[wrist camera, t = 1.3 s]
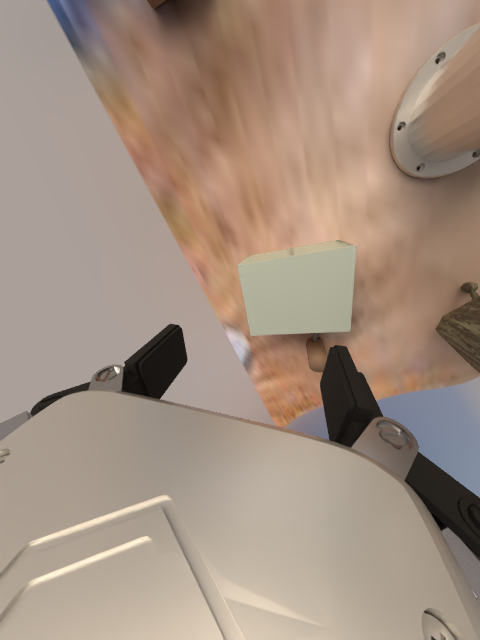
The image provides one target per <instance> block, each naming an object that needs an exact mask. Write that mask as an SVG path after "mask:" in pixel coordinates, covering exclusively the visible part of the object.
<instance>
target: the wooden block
mask: <svg viewBox="0 0 480 640" xmlns="http://www.w3.org/2000/svg"><path fill="white" fill-rule="evenodd" d="M165 1H167V0H148V2H149V3H150V5H151V7H152V8H156V7H158V6H159V5H161V4H162V3H164V2H165Z"/></svg>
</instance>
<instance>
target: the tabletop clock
mask: <svg viewBox="0 0 480 640" xmlns="http://www.w3.org/2000/svg"><path fill="white" fill-rule="evenodd" d="M461 288H462V291H464V292H466V293H470V295H471V297H472V299H473V300H472V301H470V302H468V303H467V304H465V305H463V306H461V307H459V308H458V309H456V310H454V311H452V312H450V313H449V314H447V315H445V316H443V317H442V319H441V321H440V323H439V324H438V326H437V328H436V330H437V332H438V333H439V334H440V335H441V336H442V337H443V338H444V339H445V340H446V341H447V342H448V343H449V344H450V345H451V346H452V347H453V348H454V349H455V350H456V351H457V352H458V353H459V354H460V355H461V356H462V357H463V358H464V359H465V360H466V361H467V362H468V363H469V364H470V365H471V366H473V367H474V368H475V369H476V370H477V371H478V372H479V373H480V296H479V295H478V294H477V293H476V292H475V290H477V288H478V286H477V284H476V283H473V282H468V283H465V284H464V285H463V286H462V287H461Z"/></svg>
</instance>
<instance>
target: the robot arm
mask: <svg viewBox="0 0 480 640" xmlns="http://www.w3.org/2000/svg"><path fill="white" fill-rule="evenodd" d="M435 61H436V62H437V64H436V63H435ZM397 127H399V128H400V130H399V131H398V130H397ZM390 148H391V153H392V157H393V159H394V161H395V163H396V165H397V166H398V167H399V168H400V169H401V170H402V171H403V172H405V173H406V174H408V175H410V176H413V177H416V178H425V179H430V178H437V177H441V176H445V175H448V174H451V173H454V172H456V171H459V170H461V169H464V168H465V167H467V166H469V165H471V164H473V163H474V162H476V161H477V160H479V159H480V23H477V24H475V25H473V26H471V27H469V28H467V29H465V30H463V31H462V32H460V33H459V34H457V35H456V36H455V37H453V38H452V39H450V40H449V41H447V42H446V43H445V44H444V45H443V46H442V47H441V48H440V49H439V50H438V51H436V52H435V53H434V54H433V55H432V56H431V57H430V59H429V60H428V61H427V62H426V63H425V64H424V65H423V66H422V68H421V69H420V70H419V72H418V73H417V74H416V75H415V77H414V78H413V79H412V80H411V82H410V84H409V85H408V87H407V89H406V90H405V92H404V93H403V95H402V97H401V100H400V102H399V104H398V106H397V108H396V111H395V114H394V117H393V121H392V125H391V132H390ZM472 154H473V156H472ZM417 167H418V168H419V169H418V171H417V170H416V168H417ZM124 363H125V366H124V367H122V366H121V365H111V366H107V367H105V368H102V369H101V370H99V371H98V372H96V373H95V374H94V375H93V377H92V380H91V382H88V383H85V384H82V385H79V386H76V387H73V388H70V389H67V390H63V391H61V392H57V393H54V394H52V395H49V396H47V397H45V398H43V399H42V400H41V401H39V402H38V403H37V404H36V405H35V406H34V407H33V408H32V410H31V412H30V413H28V412H27V411H26V412H23V413H21V414H19V415H17V416H15V417H13V418H11V419H9V420H7V421H4V422H3V423H0V640H480V606H479V605H480V498H479V497H478V496H476V495H475V494H474V493H472V492H471V491H470V490H468V489H467V488H466V487H464V486H463V485H462V484H460V483H459V482H458V481H456V480H455V479H454V478H452V477H451V476H450V475H448V474H447V473H446V472H444V471H443V470H442V469H441V468H439V467H438V466H437V465H435V464H434V463H433V462H431V461H430V460H429V459H427V458H426V457H425V456H423V455H422V454H421V453H419V452H418V448H419V446H418V443H417V440H416V439H415V437H414V436H413V434H412V433H411V432H410V431H409V430H408V429H407V428H406V427H404V426H403V425H401V424H400V423H398V422H396V421H395V420H392V419H390V418H386V417H383V415H382V413H381V411H380V408H379V406H378V404H377V402H376V400H375V398H374V396H373V394H372V391H371V389H370V387H369V385H368V383H367V381H366V379H365V377H364V375H363V374H362V373H361V372H358V371H357V369H356V367H355V364H354V362H353V360H352V358H351V355H350V353H349V351H348V349H347V347H346V346H338V345H335V346H334V347H331V348H330V350H329V353H328V357H327V360H326V364H325V368H324V371H323V375H322V378H321V382H320V388H321V394H322V400H323V405H324V411H325V417H326V423H327V428H328V434H329V440H327V439H323V438H320V437H316V436H312V435H308V434H304V433H300V432H297V431H293V430H289V429H285V428H281V427H276V426H272V425H268V424H264V423H260V422H255V421H251V420H247V419H243V418H239V417H234V416H230V415H226V414H221V413H217V412H212V411H208V410H204V409H200V408H195V407H191V406H187V405H182V404H177V403H173V402H169V401H165V400H160V398H161V397H162V395H163V394H164V393H165V391H166V390H167V389H168V387H169V386H170V385H171V383H172V382H173V380H174V379H175V378H176V376H177V375H178V374H179V372H180V371H181V369H183V367H184V366H185V365H186V363H187V354H186V348H185V343H184V337H183V332H182V328H180V326H179V325H174V324H169V325H168V326H167V327H166V328H164V329H163V330H162V331H161V332H160V333H159V334H157V335H156V336H155V337H154V338H153V339H151V340H150V341H149V342H148V343H147V344H145V345H144V346H143V347H142V348H141V349H140V350H138V351H137V352H136V353H135V354H134V355H132V356H131V357H130V358H129V359H128V360H126V361H125V362H124ZM472 590H473V591H474V593H475V594H476V595H477V598H476V597H475V595H474V593H473V591H472ZM423 612H425V613H423Z"/></svg>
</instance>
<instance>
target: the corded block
mask: <svg viewBox="0 0 480 640" xmlns="http://www.w3.org/2000/svg"><path fill="white" fill-rule="evenodd" d="M306 347H307V353H308V360H309V367H310V368H311V369H312V370H313V371H315V372H323V371H324V368H325V364H326V360H327V354H326V351H325V347H324V344H323V341H322V340H321V339H320V338H318V337H317V333H313V337H312V338H309V339H308V340H307V342H306Z"/></svg>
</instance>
